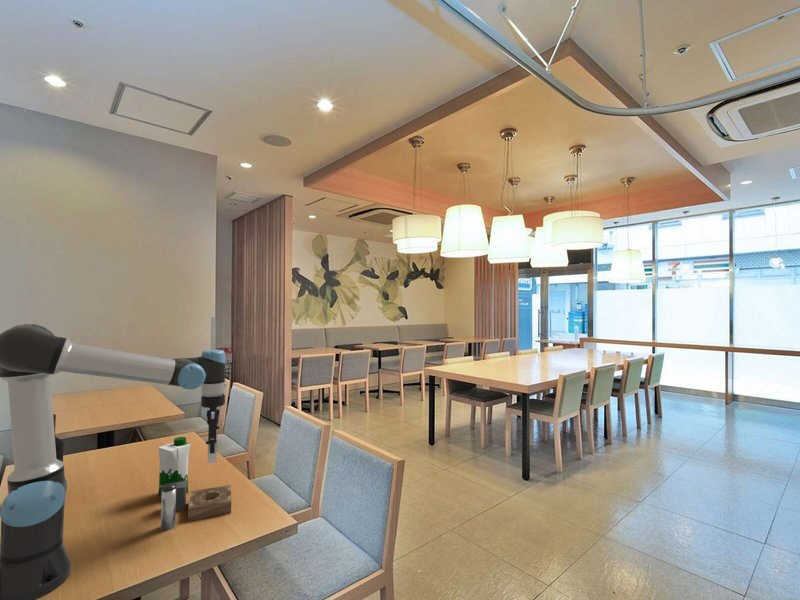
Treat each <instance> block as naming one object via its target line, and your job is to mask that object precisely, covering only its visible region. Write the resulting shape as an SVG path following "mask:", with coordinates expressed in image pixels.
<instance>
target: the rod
mask: <svg viewBox="0 0 800 600" xmlns="http://www.w3.org/2000/svg"><path fill="white" fill-rule="evenodd" d="M160 499H161V500H160V503H161V504H160V505H161V506H160V531H171V530H172V529H174V528H175V527H176V484H175V483H168V484H165V485H163V486H162V494H161V497H160Z"/></svg>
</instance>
